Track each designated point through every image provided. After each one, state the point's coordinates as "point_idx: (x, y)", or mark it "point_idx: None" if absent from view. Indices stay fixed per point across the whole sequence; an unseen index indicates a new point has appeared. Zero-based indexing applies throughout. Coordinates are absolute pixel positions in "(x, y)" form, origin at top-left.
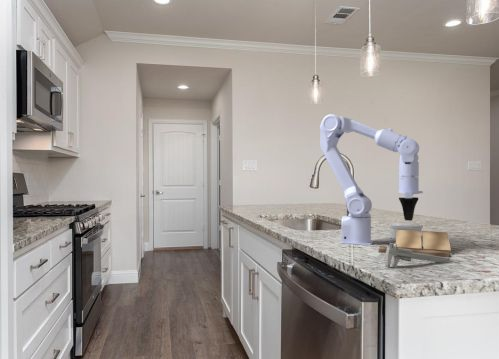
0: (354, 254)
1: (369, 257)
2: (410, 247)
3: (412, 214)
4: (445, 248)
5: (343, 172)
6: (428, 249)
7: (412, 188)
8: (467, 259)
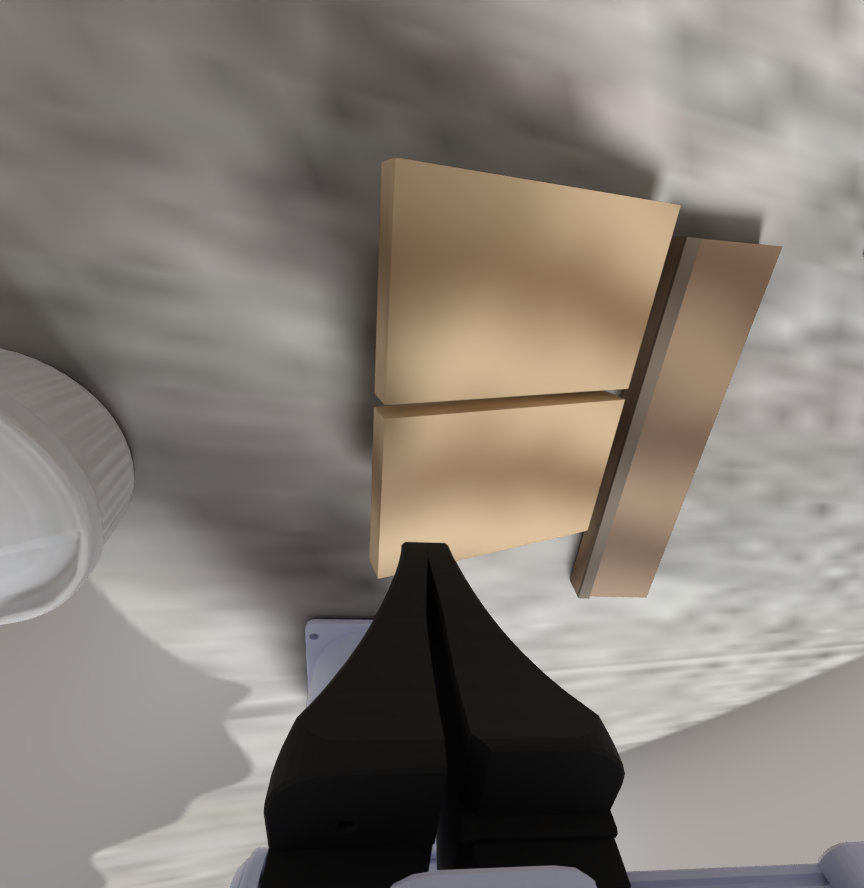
0: (676, 655)
1: (738, 607)
2: (605, 460)
3: (465, 586)
4: (652, 241)
5: None
6: (658, 362)
7: None
8: (802, 110)
